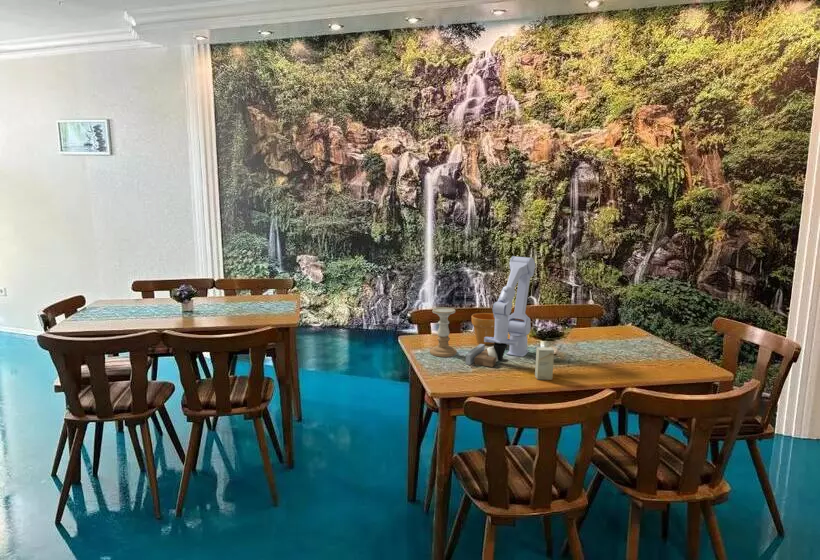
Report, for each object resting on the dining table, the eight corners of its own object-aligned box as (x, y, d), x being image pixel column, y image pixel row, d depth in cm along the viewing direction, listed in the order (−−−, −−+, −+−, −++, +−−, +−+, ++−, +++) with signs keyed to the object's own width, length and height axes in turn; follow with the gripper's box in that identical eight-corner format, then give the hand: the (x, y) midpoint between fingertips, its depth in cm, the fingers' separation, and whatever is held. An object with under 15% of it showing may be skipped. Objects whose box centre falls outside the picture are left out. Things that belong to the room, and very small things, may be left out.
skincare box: (537, 379, 234) (538, 350, 232) (534, 376, 238) (535, 346, 236) (553, 379, 234) (554, 350, 232) (550, 376, 238) (551, 346, 236)
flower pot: (474, 337, 295) (474, 311, 293) (502, 339, 291) (503, 314, 289) (468, 344, 282) (468, 318, 280) (497, 347, 278) (498, 320, 275)
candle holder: (435, 358, 261) (435, 313, 257) (425, 350, 272) (426, 307, 269) (461, 355, 265) (462, 311, 261) (450, 348, 276) (451, 306, 273)
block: (485, 355, 265) (485, 349, 264) (502, 358, 261) (503, 351, 260) (474, 364, 252) (474, 357, 252) (492, 367, 249) (492, 360, 248)
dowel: (491, 360, 258) (488, 347, 258) (500, 359, 256) (497, 345, 256) (489, 363, 254) (485, 349, 254) (497, 361, 253) (494, 348, 252)
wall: (480, 353, 268) (480, 343, 268) (484, 353, 267) (484, 344, 267) (465, 364, 252) (465, 354, 252) (469, 365, 252) (470, 354, 251)
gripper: (481, 329, 251) (481, 360, 254) (515, 333, 245) (513, 365, 247) (487, 325, 258) (486, 355, 260) (519, 329, 251) (518, 360, 254)
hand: (500, 360), depth 254 cm, fingers closed
